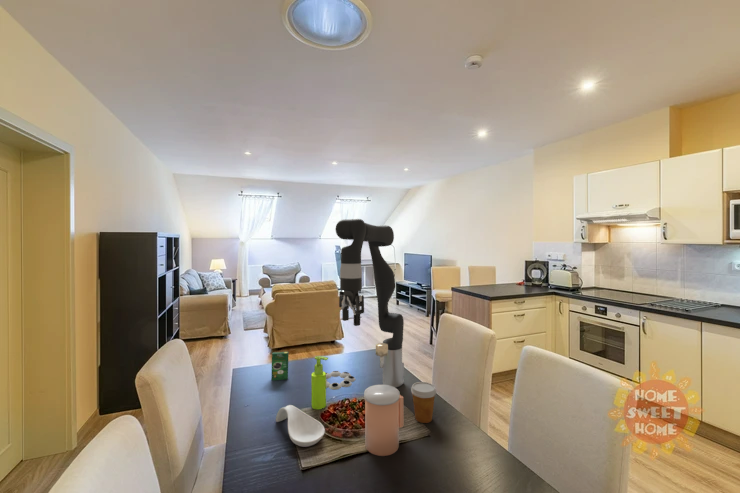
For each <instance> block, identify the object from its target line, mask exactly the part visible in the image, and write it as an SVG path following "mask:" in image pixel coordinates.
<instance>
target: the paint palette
mask: <svg viewBox="0 0 740 493" xmlns="http://www.w3.org/2000/svg"><path fill="white" fill-rule="evenodd" d="M325 373H326V389H327V388H328V389H329V390H340V389H342V388H349V387H351V386H352V385H353V382H355V381H356V378H355V377H354V376H352V374H351V373H350V372H348V371H343V372H340V371H339V370H333V371H331V372H325ZM333 377H334V378H337V377H338V378H342V379H343V380H342V381H340V383H338V382H332V383H330V382H329V381H328V379H331V378H333ZM347 382H348V383H347ZM334 385H337V386H334Z"/></svg>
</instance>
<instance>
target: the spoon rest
mask: <svg viewBox="0 0 740 493" xmlns="http://www.w3.org/2000/svg"><path fill="white" fill-rule="evenodd" d="M286 419H287V433H288V436H289V439H290V440H291V442H292V443H293V444H295V445H297V446H299V447H303V448H304V447H305V448H307V447H311V446H314V445H315V444H317V443H318V442H320V441H321V439H323V437H324V435H325V433H326V430H325V426H324V425H323V423H321V422H320V421H319V420H317V419H315V418H314V417H313V416H311V415H309V414H307V413H305V412H304V411H302V410H301V409H300V408H298V407H296V406H295V405H292V404H288V405H286V406H283V407H280V408H279V410H278V412H277V413H276V416H275V422H277V423H279V422H282V421H285V420H286Z"/></svg>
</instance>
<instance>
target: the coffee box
mask: <svg viewBox="0 0 740 493" xmlns="http://www.w3.org/2000/svg"><path fill="white" fill-rule="evenodd" d="M289 354H290V353H289V351H273V352H272V353H271V381H272V382H273V381H281V380H283V381H284V380H289Z"/></svg>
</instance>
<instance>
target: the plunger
mask: <svg viewBox="0 0 740 493" xmlns="http://www.w3.org/2000/svg"><path fill="white" fill-rule="evenodd" d="M375 355H376V356H377V357H379V368H380V369H383V368H384V356H387V355H388V344H386V343H383V342H378V343H376V344H375Z"/></svg>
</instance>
